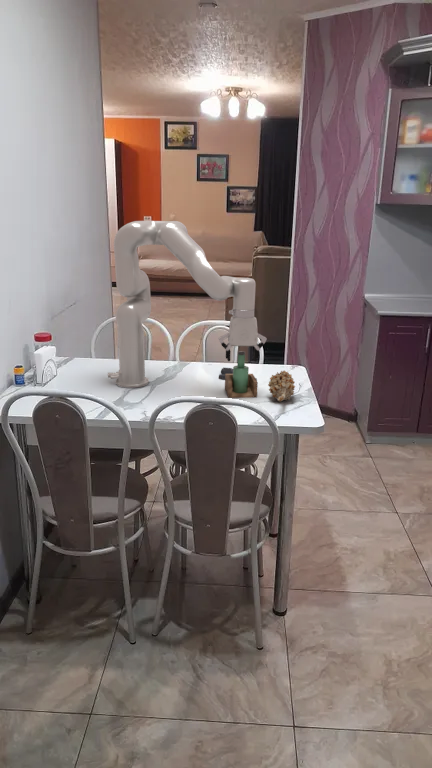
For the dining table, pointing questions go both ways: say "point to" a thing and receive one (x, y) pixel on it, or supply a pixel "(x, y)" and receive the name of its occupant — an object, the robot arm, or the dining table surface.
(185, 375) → the dining table surface
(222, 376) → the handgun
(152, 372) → the dining table surface
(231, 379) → the wooden square tray
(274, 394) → the pine cone
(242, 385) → the bottle
